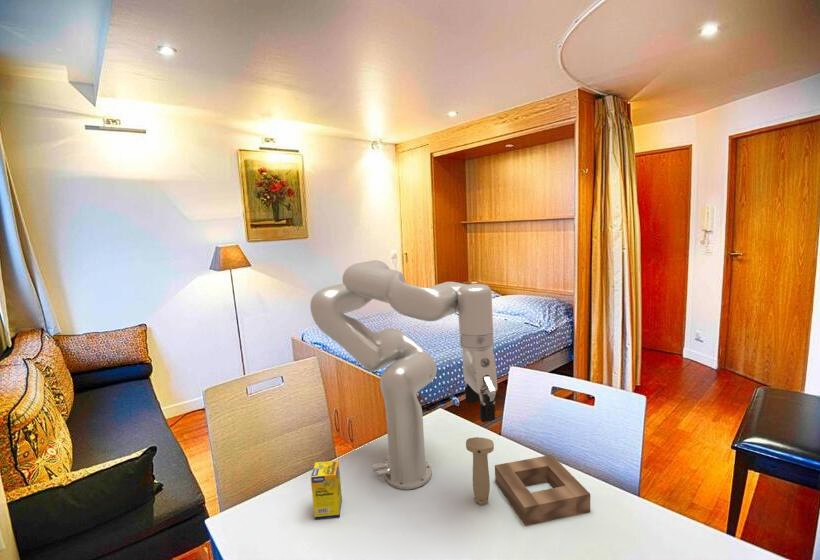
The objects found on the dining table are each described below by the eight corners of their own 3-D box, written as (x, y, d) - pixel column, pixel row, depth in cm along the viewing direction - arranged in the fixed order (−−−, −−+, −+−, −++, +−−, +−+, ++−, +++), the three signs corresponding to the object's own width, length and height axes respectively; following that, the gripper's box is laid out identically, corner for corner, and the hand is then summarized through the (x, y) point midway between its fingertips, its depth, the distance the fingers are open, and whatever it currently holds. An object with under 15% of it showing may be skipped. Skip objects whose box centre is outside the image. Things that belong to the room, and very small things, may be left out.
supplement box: (340, 517, 94) (336, 474, 93) (314, 520, 94) (309, 477, 92) (342, 500, 100) (339, 459, 99) (318, 502, 100) (314, 462, 98)
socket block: (524, 526, 88) (524, 507, 88) (495, 481, 104) (494, 465, 103) (590, 512, 91) (590, 493, 91) (552, 470, 107) (551, 454, 106)
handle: (495, 509, 94) (493, 449, 92) (467, 506, 95) (464, 447, 93) (495, 496, 98) (494, 438, 96) (469, 493, 100) (467, 436, 98)
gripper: (508, 348, 83) (511, 426, 86) (478, 328, 100) (481, 393, 103) (474, 352, 82) (477, 431, 84) (449, 331, 99) (452, 398, 101)
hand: (479, 411), depth 93 cm, fingers open, 9 cm apart
